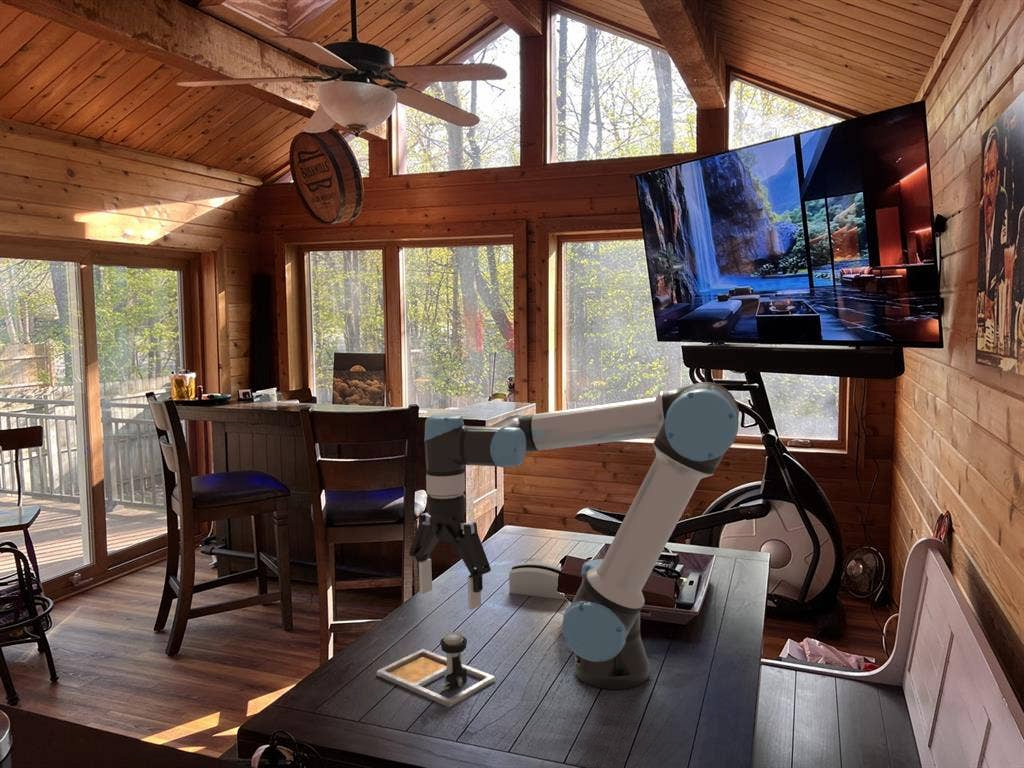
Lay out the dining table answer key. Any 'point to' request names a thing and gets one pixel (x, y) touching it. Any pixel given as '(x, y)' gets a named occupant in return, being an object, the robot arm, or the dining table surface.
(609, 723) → the dining table surface
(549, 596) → the white rounded block
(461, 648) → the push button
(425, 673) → the white divided frame
